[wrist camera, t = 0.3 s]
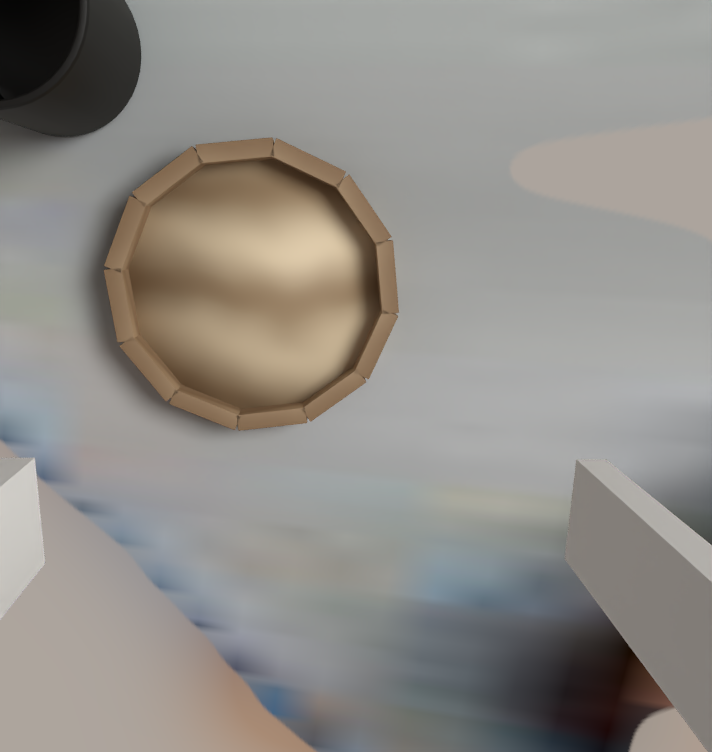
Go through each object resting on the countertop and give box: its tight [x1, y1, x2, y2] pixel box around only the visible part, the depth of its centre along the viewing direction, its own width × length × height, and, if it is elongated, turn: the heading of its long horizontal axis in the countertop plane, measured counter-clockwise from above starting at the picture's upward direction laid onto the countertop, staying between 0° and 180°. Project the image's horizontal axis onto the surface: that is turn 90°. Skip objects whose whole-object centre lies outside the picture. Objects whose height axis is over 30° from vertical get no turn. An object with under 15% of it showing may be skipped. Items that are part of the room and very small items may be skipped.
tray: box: [104, 138, 399, 431], centre depth 38 cm, size 17×17×2 cm
